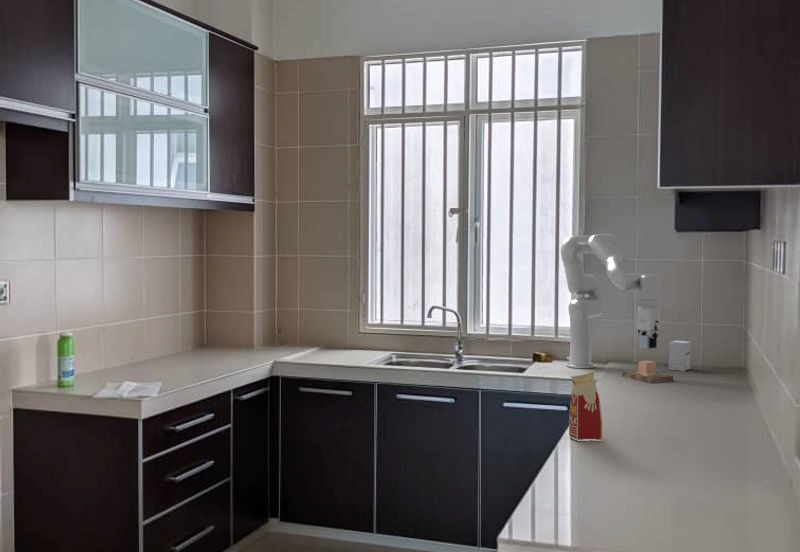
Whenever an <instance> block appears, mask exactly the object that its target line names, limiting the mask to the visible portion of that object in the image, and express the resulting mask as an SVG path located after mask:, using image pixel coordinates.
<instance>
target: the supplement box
mask: <svg viewBox="0 0 800 552" xmlns="http://www.w3.org/2000/svg"><path fill="white" fill-rule="evenodd" d="M668 352H669V354H668V355H669V357H668V358H669V359H668V369H669V370H671V371H672V370H673V371H680V372H686V371H687V370H690V369H691V341H689V340H688V341H686V340H685V341H684V340H673V341H669V351H668Z"/></svg>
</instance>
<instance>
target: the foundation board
mask: <svg viewBox="0 0 800 552" xmlns="http://www.w3.org/2000/svg"><path fill="white" fill-rule="evenodd" d="M624 376H626V377H625V378H628V377H630V378H629V379H632V378H634V379H633V380H636V379H637V381H640V380H641V381H640V382H644V381H645V383H648V382H649V383H650V384H654V382H656V383H665V382H674V376H673V375H671V374H670V375H669V374H665V373H660V372H657V371H656V374H649V375H645V374H641V373H638V369H635V370H622V371H621V377H624Z"/></svg>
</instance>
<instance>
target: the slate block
mask: <svg viewBox="0 0 800 552" xmlns="http://www.w3.org/2000/svg"><path fill="white" fill-rule="evenodd" d="M650 338H651V337H650V334H646V335H640V336H639V347H638V348H641V349H642V348H643V349H646V350H651V349H652V348H650V347H649V340H650ZM657 348H658V338H656V348H655V349H657Z"/></svg>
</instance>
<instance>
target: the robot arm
mask: <svg viewBox="0 0 800 552" xmlns="http://www.w3.org/2000/svg"><path fill="white" fill-rule="evenodd" d="M561 243H562V244H561V245H560V256H561V257H560V258H561V259H562V264H563V266H564V273H565V278H566V284H567V289H568V291H569V293H570V294H571V295H573V296H584V297H576V298H574V299H571V301H570V302H569V304H568V307H567V308H568V315H569V325H570V329H569V333H570V335H569V336H570V337H569V356H567V357H566V359H567V360H568V362H566V363H565V365H566V367H568V368H571V369H573V368H574V369H593V368H595V364H594V363H592V335H593V334H592V332H593V331H592V324H591V322H590V319H593V318H598V317H600V316H601V315H602V314H603V313H604V310H605V304H604V299H603V297H604V296H603V294H602V293H603V292H602V287H601V283H600V280H599V279H598V278H597V276H595V275H594V274H591V273H585V269H584V264H583V261H582V260H581V258H580V257H579V255H593V254H594V255H595V256H596V257H597V258H598V259H599V261H601V262H602V264H603V265H604V266H605V267H606V269H605V270H606V274H607V275H606V276H607V277H608V279H609V280H610V281H611V283H613V285H614V286H615V287H616V288H617V289H618V290H620V291H622V292H639V304H638V305H639V306H638V308H637V311H636V320H635V321H636V322H635V323H636V324H635V329H636V331H637V332H638V334H639V337H640V335H648V334H647V333H648V332H649V335H650V337H651V338H650V340H649V347H650V348H651V349H657V348H656V338H657V339H658V337H659V335H660V334H661V333H662V328H661V316H660V308H659V276H658V275H657V274H650V273H649V274H648V273H638V272H635V273H633V272H630V273H626V272H625V271H624V270H623V269H622V268H621V267H620V265H619V264H620V263H621V261H622V260H623V254H622V252H621V251H619V249H618V248H619V240H618V238H617V236H615V235H614V234H612V233H596V234H593V235H578V234H577V235H569V236H568V237H566V238H565V239H564V240H563V241H562V242H561Z"/></svg>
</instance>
